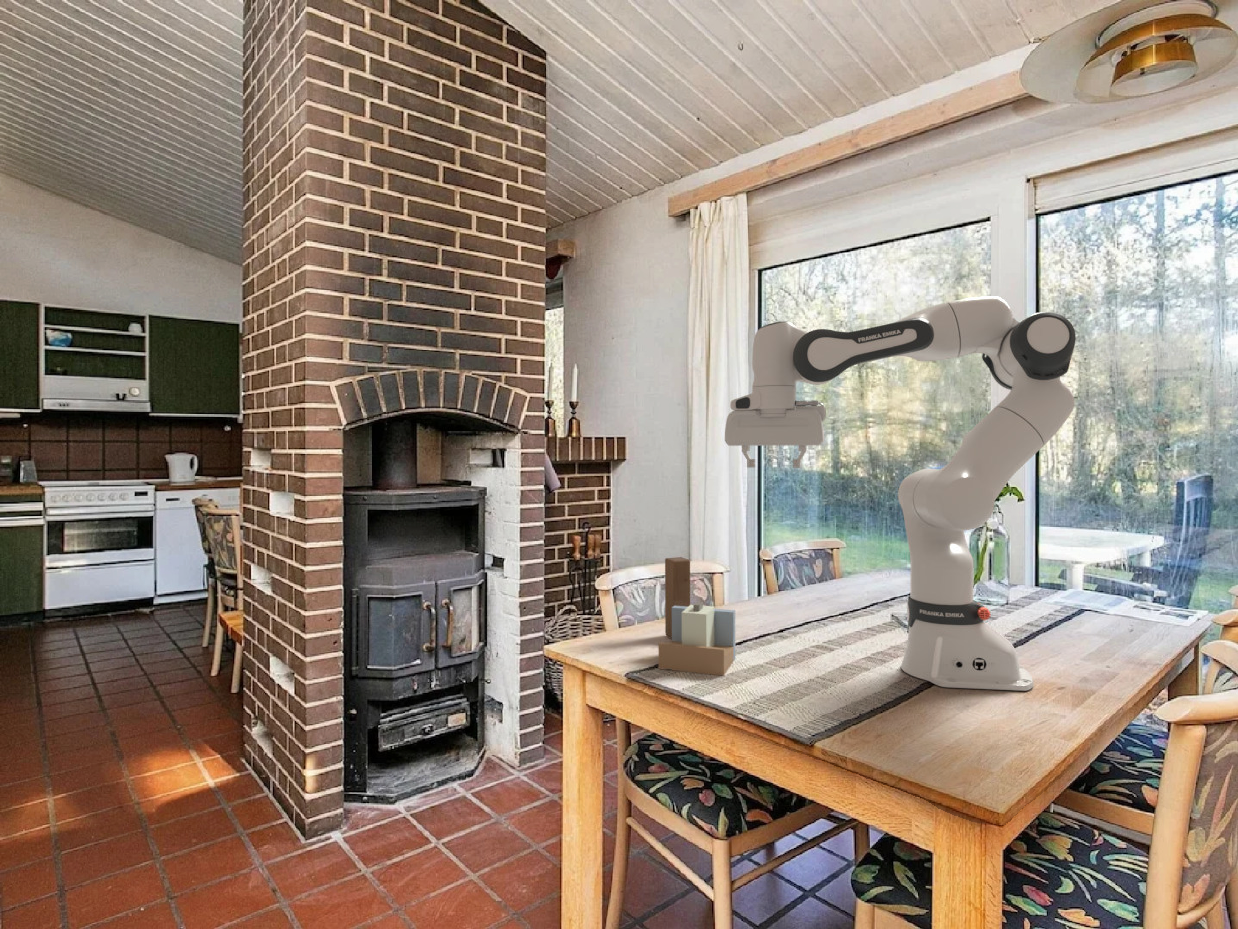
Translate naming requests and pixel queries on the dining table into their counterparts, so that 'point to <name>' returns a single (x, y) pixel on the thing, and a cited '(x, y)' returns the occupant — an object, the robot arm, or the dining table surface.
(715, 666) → the board
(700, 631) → the cabinet block
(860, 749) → the dining table surface
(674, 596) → the wooden block
